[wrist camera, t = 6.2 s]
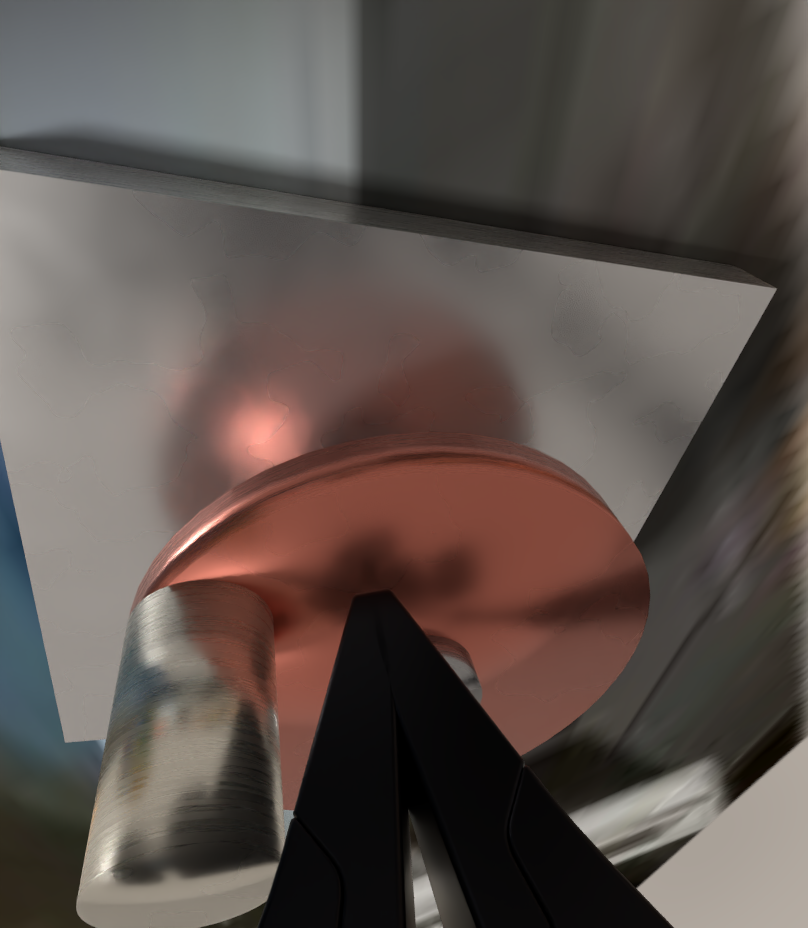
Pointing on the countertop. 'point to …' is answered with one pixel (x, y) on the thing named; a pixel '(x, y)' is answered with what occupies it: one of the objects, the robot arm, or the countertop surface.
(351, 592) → the handwheel
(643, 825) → the countertop surface
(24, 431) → the grey flat square slab
